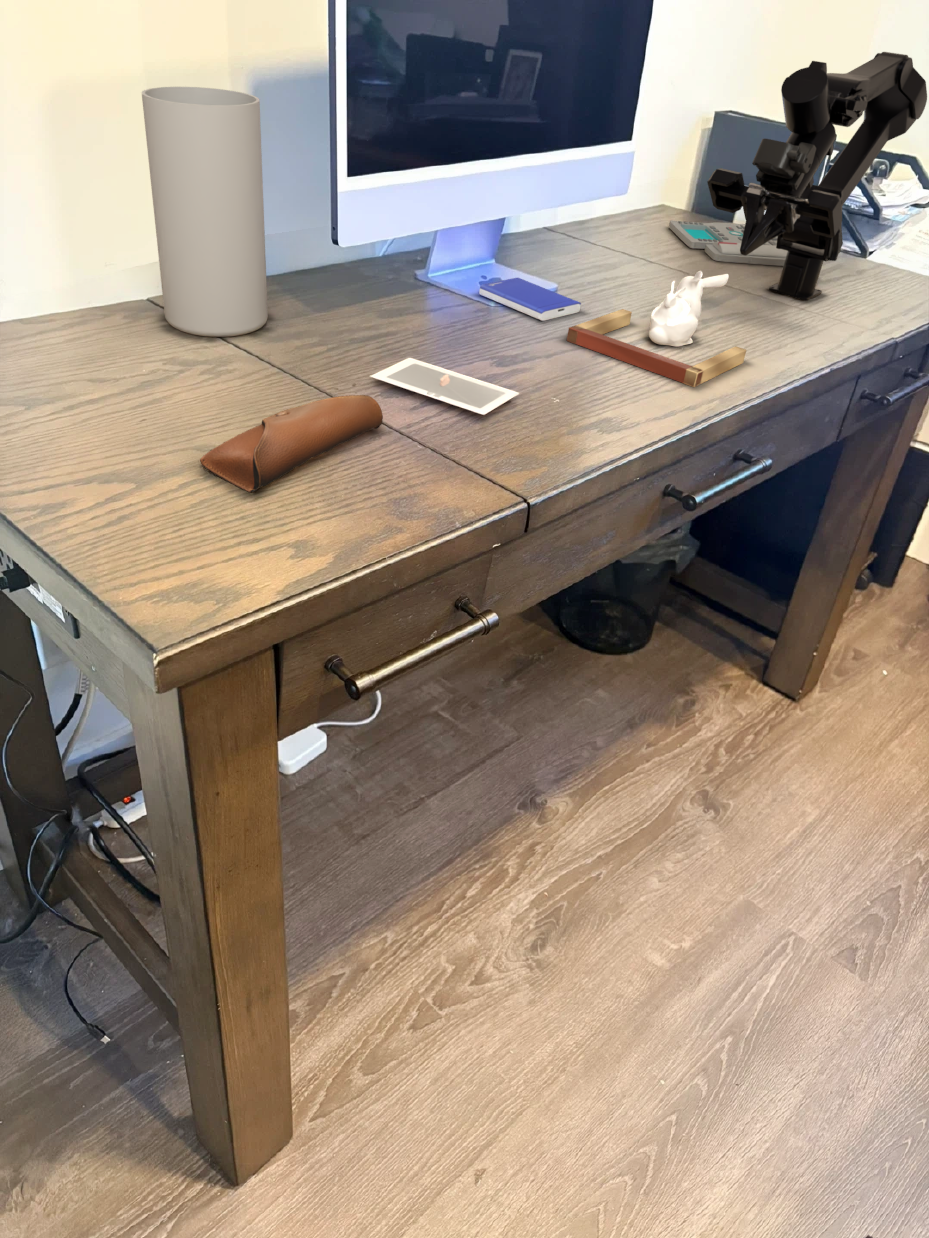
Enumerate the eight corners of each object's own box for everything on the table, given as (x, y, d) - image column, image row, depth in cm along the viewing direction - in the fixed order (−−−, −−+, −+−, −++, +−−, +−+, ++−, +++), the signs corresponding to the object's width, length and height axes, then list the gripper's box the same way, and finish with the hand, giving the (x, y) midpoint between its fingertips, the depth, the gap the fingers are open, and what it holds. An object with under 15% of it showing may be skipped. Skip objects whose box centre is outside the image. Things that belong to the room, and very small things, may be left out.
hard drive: (479, 284, 133) (542, 310, 127) (519, 276, 138) (581, 301, 131) (478, 295, 134) (540, 322, 128) (518, 287, 139) (579, 312, 132)
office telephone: (816, 253, 162) (706, 246, 159) (811, 269, 163) (703, 262, 160) (767, 218, 180) (668, 211, 177) (763, 232, 182) (665, 225, 179)
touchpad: (409, 366, 110) (409, 348, 109) (518, 402, 105) (520, 384, 103) (369, 385, 105) (369, 367, 103) (482, 424, 99) (484, 405, 98)
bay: (620, 321, 130) (622, 308, 129) (743, 363, 121) (746, 349, 120) (566, 341, 122) (568, 327, 121) (694, 387, 113) (697, 373, 112)
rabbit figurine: (678, 323, 132) (694, 253, 126) (725, 339, 128) (744, 267, 123) (632, 341, 124) (647, 267, 119) (681, 358, 121) (699, 282, 115)
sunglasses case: (319, 404, 98) (345, 360, 93) (364, 452, 98) (392, 411, 93) (192, 462, 86) (214, 415, 81) (242, 518, 85) (268, 474, 81)
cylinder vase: (288, 327, 117) (282, 103, 103) (201, 346, 110) (182, 108, 95) (231, 299, 124) (217, 85, 109) (146, 315, 116) (119, 88, 102)
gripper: (731, 103, 127) (672, 199, 126) (862, 128, 118) (800, 231, 117) (742, 161, 136) (688, 250, 136) (865, 188, 127) (807, 284, 127)
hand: (742, 253), depth 129 cm, fingers closed
